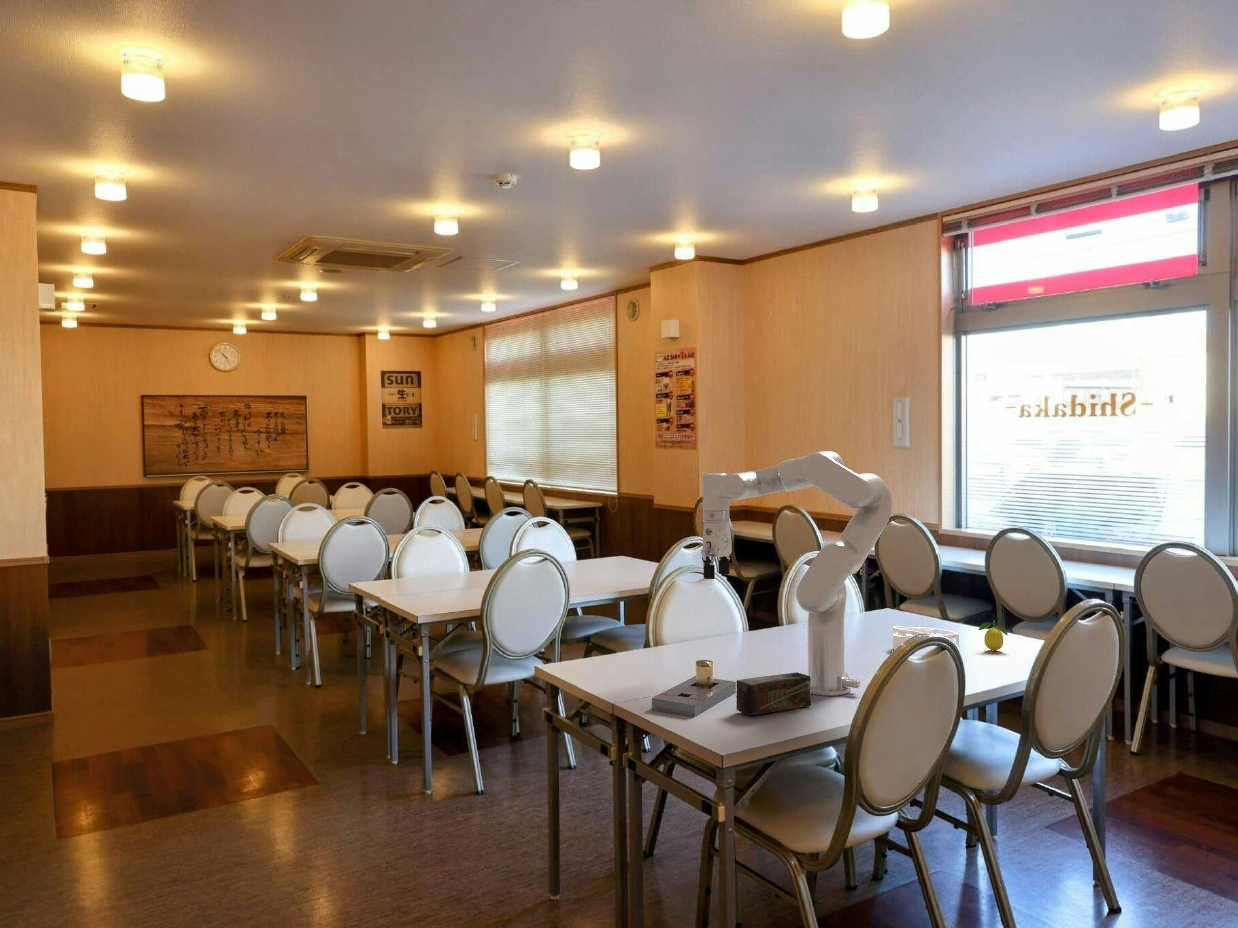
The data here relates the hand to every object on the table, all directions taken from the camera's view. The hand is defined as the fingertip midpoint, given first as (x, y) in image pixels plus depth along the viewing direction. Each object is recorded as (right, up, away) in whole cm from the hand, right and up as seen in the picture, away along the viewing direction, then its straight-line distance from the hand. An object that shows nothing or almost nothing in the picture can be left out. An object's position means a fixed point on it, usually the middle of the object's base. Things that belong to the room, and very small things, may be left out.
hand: (716, 576), depth 261 cm
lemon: (+88, -27, +23) cm, 95 cm away
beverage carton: (+3, -31, -36) cm, 47 cm away
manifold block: (-8, -29, -24) cm, 39 cm away
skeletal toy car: (+66, -27, +22) cm, 75 cm away
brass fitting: (-5, -29, -20) cm, 35 cm away
